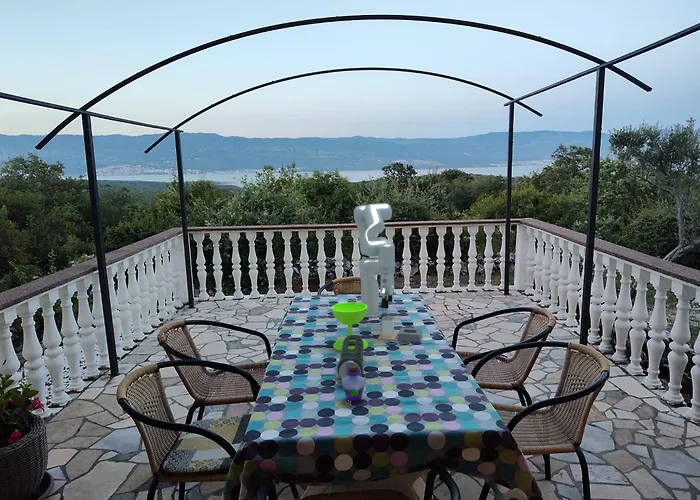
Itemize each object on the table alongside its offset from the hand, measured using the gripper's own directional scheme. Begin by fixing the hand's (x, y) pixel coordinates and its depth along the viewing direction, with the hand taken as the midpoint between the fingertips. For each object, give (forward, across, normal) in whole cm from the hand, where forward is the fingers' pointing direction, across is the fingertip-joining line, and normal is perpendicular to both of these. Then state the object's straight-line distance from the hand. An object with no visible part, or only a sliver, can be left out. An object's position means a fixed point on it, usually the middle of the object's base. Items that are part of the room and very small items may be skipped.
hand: (387, 305), depth 223 cm
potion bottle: (+13, -65, -1) cm, 67 cm away
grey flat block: (+15, -1, -11) cm, 19 cm away
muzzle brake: (+14, -42, +6) cm, 45 cm away
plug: (+15, -1, -1) cm, 15 cm away
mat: (+15, -1, -1) cm, 15 cm away
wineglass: (+15, -15, +14) cm, 26 cm away
